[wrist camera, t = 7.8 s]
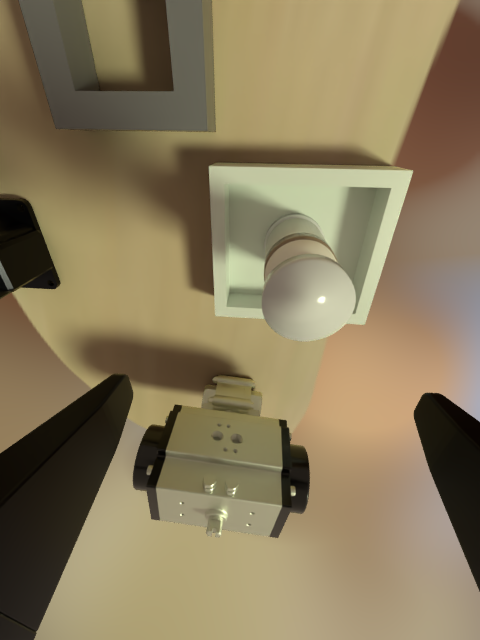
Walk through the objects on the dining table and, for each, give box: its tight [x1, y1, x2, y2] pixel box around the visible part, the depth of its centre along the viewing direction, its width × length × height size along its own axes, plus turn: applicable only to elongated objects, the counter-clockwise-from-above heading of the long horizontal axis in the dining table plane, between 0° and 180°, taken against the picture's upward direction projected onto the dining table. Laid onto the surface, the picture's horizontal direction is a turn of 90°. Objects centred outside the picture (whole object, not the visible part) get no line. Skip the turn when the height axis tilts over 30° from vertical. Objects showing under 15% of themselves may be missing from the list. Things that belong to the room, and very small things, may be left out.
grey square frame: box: [19, 0, 216, 132], centre depth 13 cm, size 8×8×2 cm
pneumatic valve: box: [133, 375, 310, 538], centre depth 22 cm, size 6×12×12 cm, turn 84°
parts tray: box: [209, 162, 413, 325], centre depth 18 cm, size 10×9×3 cm
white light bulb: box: [262, 213, 356, 341], centre depth 15 cm, size 4×4×8 cm
